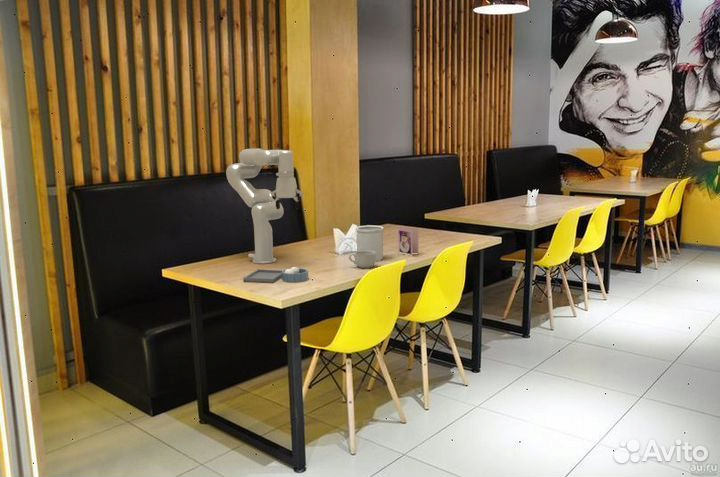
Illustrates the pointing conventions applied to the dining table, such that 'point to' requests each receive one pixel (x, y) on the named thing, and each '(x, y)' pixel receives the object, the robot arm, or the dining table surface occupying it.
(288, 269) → the pebble
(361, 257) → the teacup
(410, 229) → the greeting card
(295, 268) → the pebble
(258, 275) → the parts tray
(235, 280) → the dining table surface
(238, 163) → the robot arm
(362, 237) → the utensil holder
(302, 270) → the bowl
